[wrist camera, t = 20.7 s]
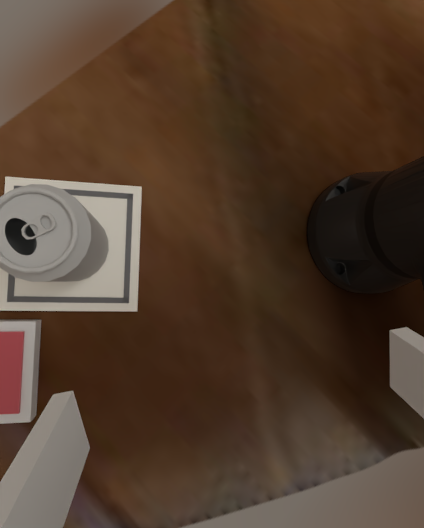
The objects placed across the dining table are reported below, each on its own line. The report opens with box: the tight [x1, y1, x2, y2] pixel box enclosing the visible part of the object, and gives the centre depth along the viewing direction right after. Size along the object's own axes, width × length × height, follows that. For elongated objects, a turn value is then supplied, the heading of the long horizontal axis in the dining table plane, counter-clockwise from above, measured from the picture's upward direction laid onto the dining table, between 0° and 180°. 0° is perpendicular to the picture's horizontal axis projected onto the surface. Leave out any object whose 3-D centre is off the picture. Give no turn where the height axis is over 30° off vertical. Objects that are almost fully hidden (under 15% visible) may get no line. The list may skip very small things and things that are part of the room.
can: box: [0, 184, 109, 282], centre depth 28 cm, size 8×8×12 cm
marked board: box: [0, 177, 142, 311], centre depth 34 cm, size 14×14×1 cm
